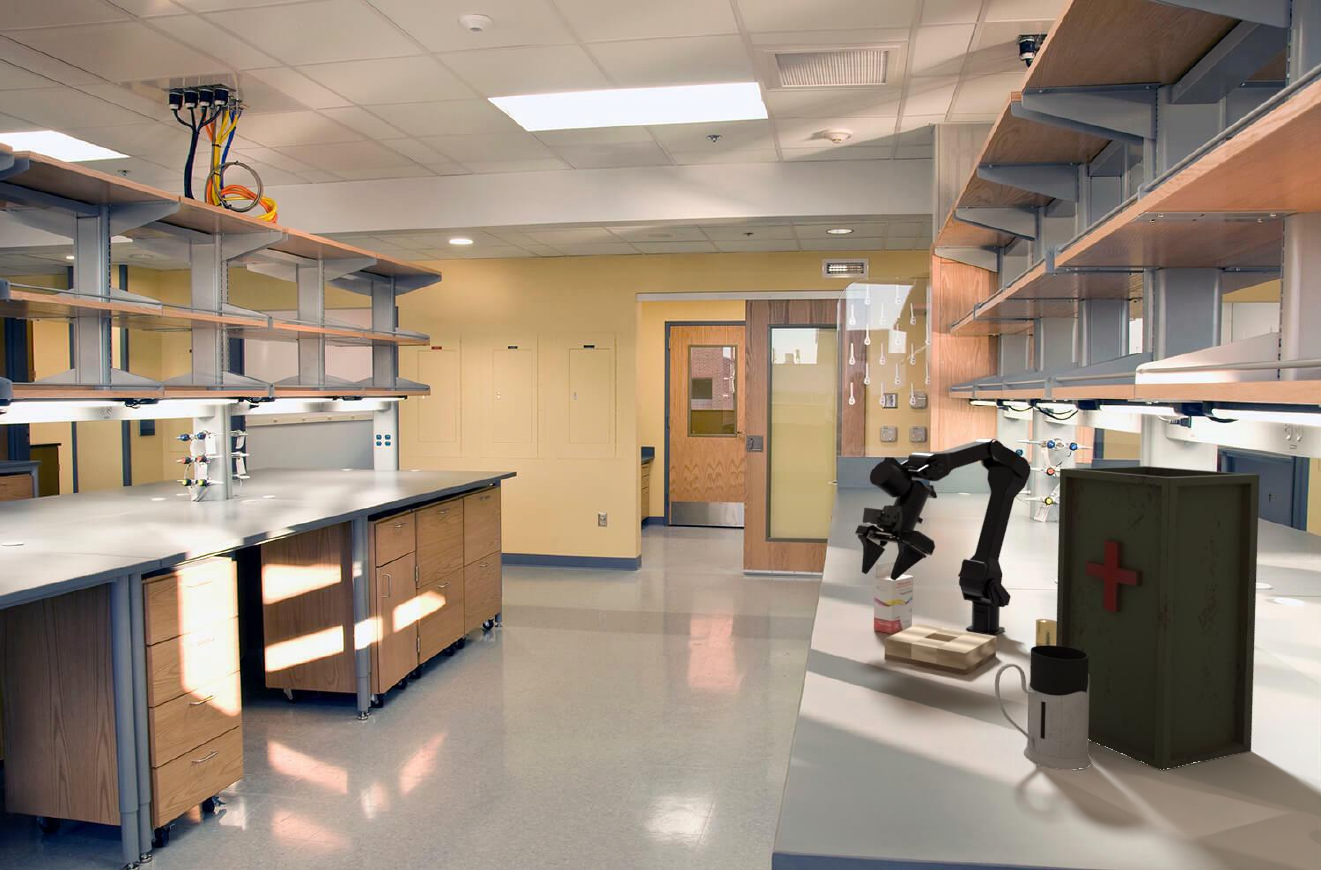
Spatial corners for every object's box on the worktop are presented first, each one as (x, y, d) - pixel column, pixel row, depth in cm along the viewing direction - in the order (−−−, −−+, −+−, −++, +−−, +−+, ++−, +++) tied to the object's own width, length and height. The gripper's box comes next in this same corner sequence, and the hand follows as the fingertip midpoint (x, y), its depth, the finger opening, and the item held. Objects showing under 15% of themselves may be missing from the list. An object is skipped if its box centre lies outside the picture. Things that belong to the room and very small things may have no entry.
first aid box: (1054, 726, 141) (1059, 468, 139) (1138, 710, 148) (1145, 465, 146) (1161, 770, 124) (1169, 478, 122) (1251, 751, 131) (1259, 474, 129)
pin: (1038, 664, 174) (1039, 618, 173) (1058, 668, 171) (1059, 621, 171) (1032, 668, 171) (1033, 621, 171) (1052, 672, 169) (1053, 624, 168)
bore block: (918, 642, 189) (919, 623, 189) (995, 656, 179) (996, 636, 179) (884, 658, 177) (884, 638, 177) (965, 674, 167) (965, 653, 167)
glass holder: (1105, 767, 125) (1108, 659, 124) (1012, 775, 122) (1015, 664, 121) (1064, 743, 133) (1066, 642, 133) (977, 750, 130) (978, 647, 130)
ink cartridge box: (892, 634, 196) (894, 566, 195) (872, 630, 199) (873, 563, 199) (913, 627, 202) (914, 562, 201) (893, 623, 205) (894, 559, 205)
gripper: (852, 487, 193) (822, 553, 190) (910, 492, 176) (878, 564, 173) (889, 511, 197) (860, 576, 194) (949, 518, 180) (919, 589, 177)
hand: (877, 576), depth 184 cm, fingers open, 9 cm apart
